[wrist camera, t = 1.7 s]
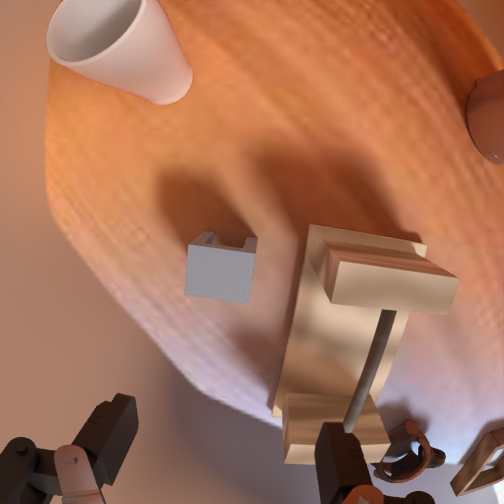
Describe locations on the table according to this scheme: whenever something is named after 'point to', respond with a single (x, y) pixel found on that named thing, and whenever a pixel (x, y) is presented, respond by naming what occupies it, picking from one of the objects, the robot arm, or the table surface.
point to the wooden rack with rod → (351, 334)
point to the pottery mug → (408, 455)
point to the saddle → (219, 269)
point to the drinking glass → (121, 47)
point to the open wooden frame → (481, 466)
